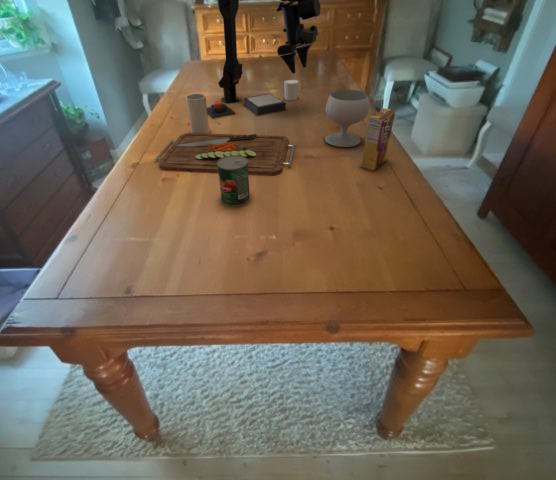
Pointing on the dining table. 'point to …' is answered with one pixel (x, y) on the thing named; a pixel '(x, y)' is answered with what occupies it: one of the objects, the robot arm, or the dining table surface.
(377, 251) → the dining table surface
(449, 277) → the dining table surface
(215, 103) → the scale button
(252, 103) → the scale
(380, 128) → the candy box
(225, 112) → the tare pad
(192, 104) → the beaker
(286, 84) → the shot glass
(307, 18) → the robot arm
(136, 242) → the dining table surface
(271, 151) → the chopping board
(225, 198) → the canned tomato
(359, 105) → the chalice
